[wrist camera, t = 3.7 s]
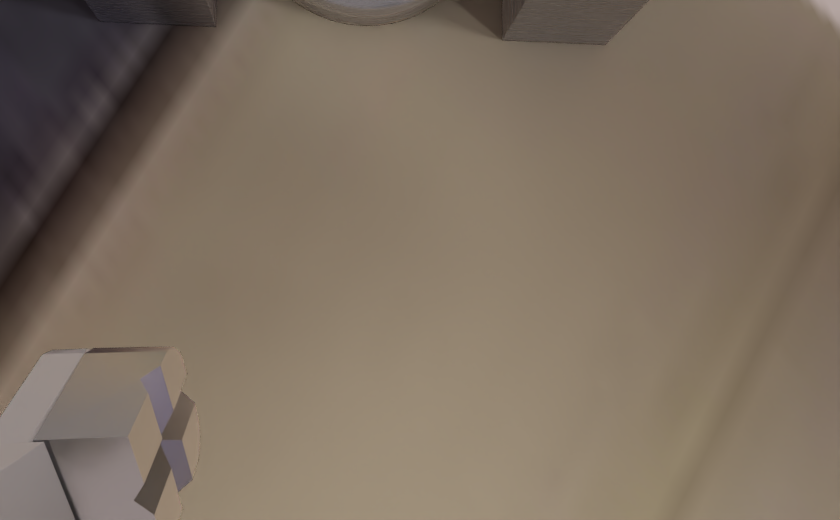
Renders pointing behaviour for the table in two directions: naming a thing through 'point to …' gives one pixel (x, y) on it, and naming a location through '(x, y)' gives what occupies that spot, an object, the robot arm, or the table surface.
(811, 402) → the table surface
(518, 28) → the vise
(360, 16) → the grey tall rounded piece
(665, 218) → the table surface
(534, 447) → the table surface
